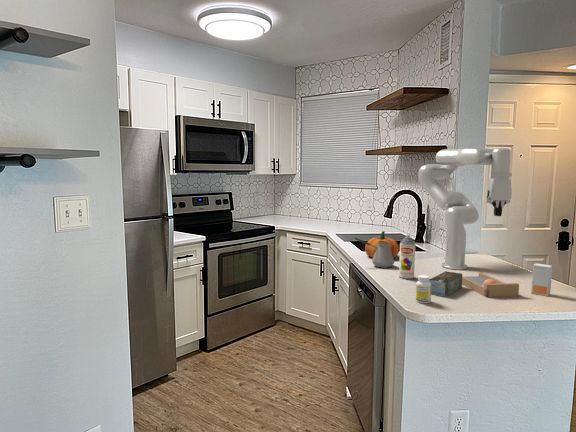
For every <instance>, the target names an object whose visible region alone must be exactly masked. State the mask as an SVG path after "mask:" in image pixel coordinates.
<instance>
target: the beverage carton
mask: <svg viewBox="0 0 576 432" xmlns="http://www.w3.org/2000/svg"><path fill="white" fill-rule="evenodd" d="M462 276H463V273H459V272H454V271H447V270H446V271H444V272H443V271H442V272H441V273H440V274H438V275H435V276H433V277H431V278H429V282H430V283H431V295H435V296H439V297H443V298H445V297H448V296H449V295H451V294H453V293H454V292H456V291H457V290H460V289H461V288H463V284H462Z"/></svg>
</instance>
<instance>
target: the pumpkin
mask: <svg viewBox="0 0 576 432" xmlns="http://www.w3.org/2000/svg"><path fill="white" fill-rule="evenodd" d="M385 233H386V232H385V231H381V234H380V236H378V237H377V236H376V237H374V236H373V237H372V238H370V239H369V240H368V241H367V242H368V243H370V244H372V245H374V246H377V247H378V246H379V245H378V243H377V242H378V241H387V242H390V243H389V249H390V251H391V254H392V256H393V259H394V258H396V257H397V256H398V255H399V254H400V245H399V244H398V242H397V241H396V240H395V239H393V238H391V237H387V236H385ZM364 249H365V250H364V252H365V254H366V255H367V256H368V257H370V258H373V257H374V255H375V252H376V250H377V248H375V247H373V246H370V245H367V244H365V246H364Z"/></svg>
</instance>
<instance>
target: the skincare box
mask: <svg viewBox="0 0 576 432" xmlns="http://www.w3.org/2000/svg"><path fill="white" fill-rule="evenodd" d="M552 276H553V265H550V264H544V263H542V264H541V263H533V266H532V279H531V290H530V293H531V294H534V295H538V294H539V296H543V295H545V296H544V297H549V296H550V295H551V290H552V280H553V279H552ZM549 294H550V295H549Z"/></svg>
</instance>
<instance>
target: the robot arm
mask: <svg viewBox="0 0 576 432" xmlns="http://www.w3.org/2000/svg"><path fill="white" fill-rule="evenodd" d="M511 151H512V150H511V149H510V148H503V147H502V148H494V149H493V148H445V149H441V150H439V151H438V152H437V153H436V154H435V161H436V162H437V163H436V164H435V163H427V164H424V165H422V166H421V167H420V168H419V170H418V175H417V176H418V177H417V178H418V182H419V184H420V185H421V187H422V188H423V190H425V192H426V193H427V194H429V196H430V198H431V199H432V200H433V201H434V203H435V204H436V206H438V208H440V210H446V211H445V212H444V213H445V214H444V218H445V219H444V220H445V226H446V227H445V229H446V230H445V254H444V258H443V259H444V262H442V263H441V267H442V268H445V269H449V270H461V271H462V270H467V269H469V268H468V267H469V266H468V265H467V264H466V263H465V262H466V247H467V246H466V245H467V233H466V232H467V231H466V229H465V225H471V224H474V223H476V222H477V221H478V219H479V217H480V216H479V211H478V209H477V208H476V206H475V205H474V204H473V203H472V202H471V201H470V199H469V198H468V197H467V196H466V195H465V194H464V193H462V192H459V191H449V190H448V189H447V188H445V186H444V185H443V184H442V183H441V182H440V181H441V180H447V179H448V178H450V176H452V175H453V173H454V172H455V171H456V170H457V169H458V168H459V166H462V167H463V166H465V165H466V166H468V165H469V166H470V165H471V166H472V165H473V166H475V165H476V166H484V165H485V166H491V167H490V168H491V169H490V178H488V180H487V184H486V189H485V200H486V203H488V204H491V205H492V207H493V216H494V217H502V214H503V208H504V207H505V205H506V204H511V199H512V189H513V187H512V181H511V178H510V177H512V175H513V174H512V173H511V170H510V169H511V157H512V154H511V153H512V152H511ZM439 180H440V181H439Z"/></svg>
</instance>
